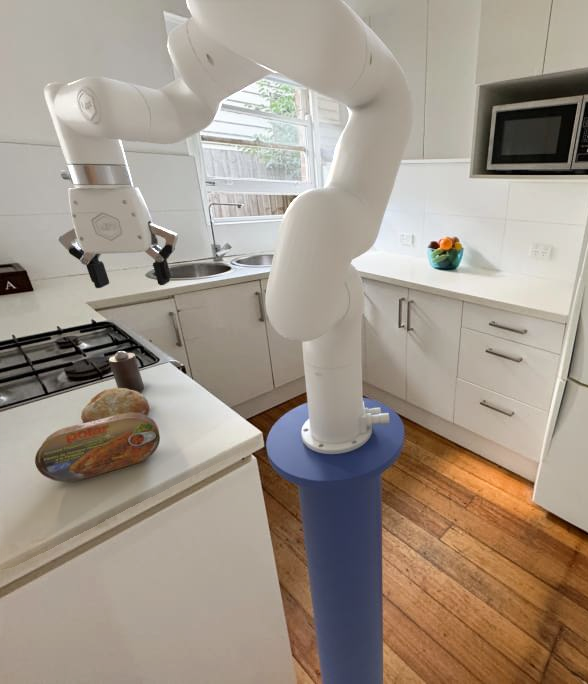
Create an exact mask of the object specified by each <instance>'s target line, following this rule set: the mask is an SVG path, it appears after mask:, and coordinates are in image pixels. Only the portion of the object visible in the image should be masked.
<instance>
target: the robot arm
mask: <svg viewBox="0 0 588 684" xmlns="http://www.w3.org/2000/svg"><path fill="white" fill-rule="evenodd" d="M185 1H186V4H187V8H188V10H189V12H190V14H191V17H189V18H188V19H186V20H185V21H183V22H182V23H180V24H178V25H177V26H175V27H174V28H172V29H171V30H170V32H169V34H168V37H167V50H168V54H169V57H170V60H171V63H172V65H173V66H174V69H175V70H176V72H177V74H178V75H179V77H178V78H176V79H174V80H173V81H171V82H169V83H167V84H166V85H164V86H162V87H160V88H157V89H155V88H150V87H147V86H143V85H139V84H135V83H131V82H128V81H122V80H119V79H114V78H109V77H106V76H98V75H91V76H85V77H82V78H80V79H78V80H75V81H72V82H61V81H60V82H59V81H58V82H50V83H48V84H46V85H45V86H44V87H43V97H44V99H45V103H46V107H47V109H48V112H49V115H50V119H51V121H52V124H53V127H54V131H55V133H56V136H57V140H58V142H59V146H60V148H61V152H62V155H63V157H64V160H65V163H66V165H65V168H66V169H65V170H62V169H61V170H60V172H59V173H60V177H61V178H62V179H63V180H65V181H68V180H69V181H70V183H71V184H72V185H73V187H72V188H71V187H69V188H67V193H68V205H69V211H70V217H71V221H72V225H73V228H72V229H70V230H68V231H67V232H65V233H63V234H62V235H60V236H58V238H57V240H58V242H59V243H60V244H61V245H62V246H63V247H64V248H65V249H66V250H67V251H68V253H69V254H70V255H71V256H72V257H74V258H76V259H77V260H78V261H80V263H81V264H82V265H84V266H86V269H87V273H88V275H89V278H90V281H91V282H92V283H93V285H94V288H95V289H102V288H104V287H105V286H108V285H110V279H109V276H108V273H107V270H106V267H105V264H104V262H103V261H102V260H99V258H100V257H101V256H102V255H105V254H107V255H109V254H133V253H134V254H135V253H136V254H137V253H143V252H144V253H146V254H147V255H148V256H149V257H151V258H152V259H154V262H153V263H152V266H153V270H154V273H155V278H156V281H157V285H159V286H165V285H166V284H168V283H170V279H171V278H172V277H171V275H172V274H171V271H170V267H169V264H168V259H169V258H170V256H171V255H172V253H173V252H174V251H175V250H176V245H177V242H178V240H179V239H178V238H179V234H178V233H176V232H174V231H171V230H168V229H166V228H164V227H162V226H159V225H157V224H155V223H154V221H153V219H152V215H151V214H150V211H149V208H148V206H147V204H146V201H145V199H144V197H143V195H142V193H141V191H140V188H139V187H134V184H133V180H132V176H131V173H130V169H129V166H128V162H127V157H126V155H125V151H124V150H125V149H124V147H123V143H122V141H125V142H139V143H149V144H157V145H172V144H176V143H179V142H182V141H185V140H187V139H188V138H190V137H193V136H194V135H196V134H198V133H200V132H202V131H203V130H205V129H207V128H208V127H209V126H210V125H212V124H213V122H214V121H215V119H216V117H217V116H218V114H219V112H220V110H221V107H222V103H223V102H224V101H226V100H227V99H229V98H231V97H233V96H235V95H236V94H239V93H240V92H242V91H244V90H245V89H247V88H249V87H251V86H253V85H254V84H257V83H258V82H260V81H262V80H264V79H266V78H267V77H270V76H271V75H273V74H274V73H275V74H278V75H279V76H281V77H284V78H286V79H288V80H290V81H292V82H294V83H296V84H298V85H300V86H302V87H304V88H306V89H308V90H310V91H312V92H314V93H316V94H319V95H322V96H323V97H326V98H327V99H330V100H332V101H335V102H337V103H340V104H341V105H343V106H345V107H346V109H347V110H348V119H347V123H346V125H345V127H344V129H343V130H342V132H341V135H340V136H339V139H338V141H337V144H336V146H335V149H334V154H333V159H332V164H331V166H330V170H329V174H328V177H327V179H326V183H325V185H324V186H323V187H316V188H311V189H308V190H306V191H304V192H302V193H300V194H299V195H297V197H295V198H294V199H293V200H292V202H291V203H290V204H289V206H288V207H287V209H286V211H285V212H284V214H283V216H282V219H281V221H280V224H279V229H278V233H277V238H276V242H275V246H274V250H273V251H274V252H273V255H272V261H271V265H270V270H269V274H268V279H267V284H266V289H265V297H264V298H265V300H264V302H265V304H264V305H265V311H266V315H267V319H268V321H269V323H270V324H271V326H272V328H273V329H274V330H275V331H276V332H277V334H279V335H280V336H281V337H283V338H285V339H286V340H289V341H292V342H296V343H301V347H302V348H301V349H302V357H303V370H304V379H305V390H306V402H307V403H308V411H309V419H308V420H307V421H306V422H305V424H304V425H303V427H302V432H301V434H302V440H303V442H304V444H305V445H306V446H307V447H308V448H310V449H311V450H313V451H316V452H318V453H323V454H341V453H346V452H350V451H353V450H355V449H357V448H359V447H360V446H362V445H363V444H365V443H366V442H367V441H368V439H369V438H370V436H371V434H372V425H375V424H389V413H382V414H381V409H380V408H373V409H368V408H365V406H364V401H363V398H364V397H363V396H364V395H363V394H364V393H363V391H364V390H363V362H362V361H363V359H362V358H363V357H362V354H363V350H362V348H363V347H362V326H363V315H364V305H365V288H364V282H363V279H362V276H361V274H360V272H359V271H358V270H357V268H356V267H355V266H354V265H353V264H352V261H353V260H354V259H357V258H359V257H360V256H362V255H364V254H365V253H366V252H368V251H369V250H370V249H372V247H373V246H374V245H375V243H376V241H377V239H378V237H379V234H380V230H381V226H382V223H383V220H384V216H385V214H386V211H387V208H388V205H389V202H390V199H391V196H392V193H393V189H394V187H395V183H396V180H397V176H398V172H399V169H400V167H401V163H402V161H403V158H404V156H405V152H406V149H407V146H408V143H409V139H410V135H411V130H412V124H413V117H414V116H413V114H414V107H413V106H414V105H413V97H412V92H411V88H410V84H409V81H408V78H407V76H406V73H405V72H404V70H403V69H402V67H401V65H400V63H399V62H398V60H397V59H396V58H395V56H394V55H393V53H392V51H390V49H389V48H388V46H386V44H385V43H384V42H383V41H382V40H381V39H380V37H379V36H378V35H377V34H376V32H375V31H374V30H372V28H371V27H370V26H369V25H368V24H366V23H365V21H363V19H361V17H360V16H359V15H358V14H357V13H356V12H355V11H354V10H353V8H351V6H349V5H348V4H347V3H346V2H345V1H344V0H185ZM158 237H161V238H163V239H164V240H165V244H164V246H163V247H161V246H159V238H158ZM76 240H77V242H76ZM77 243H78V244H77Z"/></svg>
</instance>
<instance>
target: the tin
mask: <svg viewBox="0 0 588 684" xmlns="http://www.w3.org/2000/svg"><path fill="white" fill-rule="evenodd" d="M160 440H161V435H160V429H159V426H158V424H157V423H156V421H155V420H154V419H153V418H152V417H150V416H148V415H147V416H146V415H144V414H140V413H124V414H120V415H115V416H111V417H107V418H103V419H99V420H95V421H91V422H87V423H83V422H82V423H79V424H75V425H70V426H67V427H63V428H60V429H58V430H56V431H54V432H53V433H51V434H50V435H48V436H47V438H46V439H45V440H43V442H42V444H41V446H40V447H39V448H38V450H37V452H36V453H35V456H34V464H35V467H36V469H37V470H38V472H39V473H40V474H41V475H42V476H44V477H46V478H47V479H49V480H51V481H54V482H55V481H56V482H61V483H72V482H79V481H82V480H85V479H89V478H92V477H95V476H99V475H102V474H105V473H108V472H112V471H116V470H119V469H123V468H126V467H130V466H132V465H136V464H140V463H141V462H144V461H145V460H147V459H148V458H150V457H151V456H152V455H153V454H154V453H155V452H156V450H157V449H158V447H159V445H160V442H161V441H160Z"/></svg>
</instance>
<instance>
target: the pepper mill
mask: <svg viewBox="0 0 588 684" xmlns="http://www.w3.org/2000/svg"><path fill="white" fill-rule="evenodd" d="M108 363H109V365H110V369H111V371H112V375H113V378H114V381H115V383H116V388H126V389H129V390H134V391H137V392H139V393H141V392H143V391H144V390H145V385H144V382H143V378H142V375H141V371H140V368H139V364H138V361H137V358H136V354H135V353H133V352H126V351H124V350H120V351H119V350H118V351H117V352H116V353H115V354H114V355H112V356H110V357H109V358H108Z"/></svg>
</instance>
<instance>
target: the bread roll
mask: <svg viewBox="0 0 588 684" xmlns="http://www.w3.org/2000/svg"><path fill="white" fill-rule="evenodd" d="M124 413H140V414H144V415H146V416H148V415H149V413H150V404H149V401H148V399H147V398H146V396H145V395H144V394H143V393H141V392H137V391H134V390H129V389H126V388H118V387H113V388H108V389H105V390H102V391H100V392H99V393H97V394H96V395H95V396H93V397H92V398H91V399H90V401H89V402H88V403H87V404H86V405H85V406H84V408H83V409H82V411H81V416H80V418H81V421H82V423H87V422H91V421H95V420H99V419H103V418H107V417H111V416H115V415H120V414H124Z"/></svg>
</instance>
